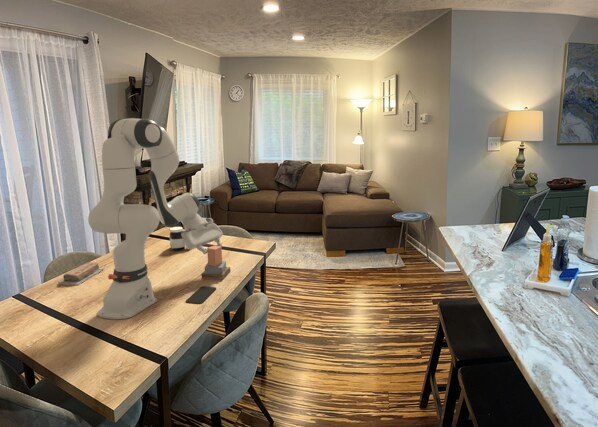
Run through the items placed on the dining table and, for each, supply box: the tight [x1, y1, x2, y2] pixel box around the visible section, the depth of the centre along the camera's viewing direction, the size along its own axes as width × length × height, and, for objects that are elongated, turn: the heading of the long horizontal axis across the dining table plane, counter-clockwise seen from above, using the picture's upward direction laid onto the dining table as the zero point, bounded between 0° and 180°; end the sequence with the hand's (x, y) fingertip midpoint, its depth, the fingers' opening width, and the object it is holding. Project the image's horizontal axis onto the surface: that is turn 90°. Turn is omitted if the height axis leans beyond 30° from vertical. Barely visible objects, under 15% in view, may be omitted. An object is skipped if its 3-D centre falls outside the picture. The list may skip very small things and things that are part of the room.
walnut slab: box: [200, 266, 231, 281], centre depth 184 cm, size 10×10×3 cm
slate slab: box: [203, 260, 227, 274], centre depth 183 cm, size 8×8×3 cm
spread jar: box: [169, 226, 190, 252], centre depth 222 cm, size 12×11×12 cm
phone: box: [184, 285, 217, 305], centre depth 164 cm, size 7×1×15 cm
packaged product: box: [57, 261, 104, 286], centre depth 185 cm, size 18×5×10 cm
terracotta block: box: [206, 244, 223, 266], centre depth 183 cm, size 4×4×8 cm
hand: (213, 250), depth 183 cm, fingers open, 8 cm apart
